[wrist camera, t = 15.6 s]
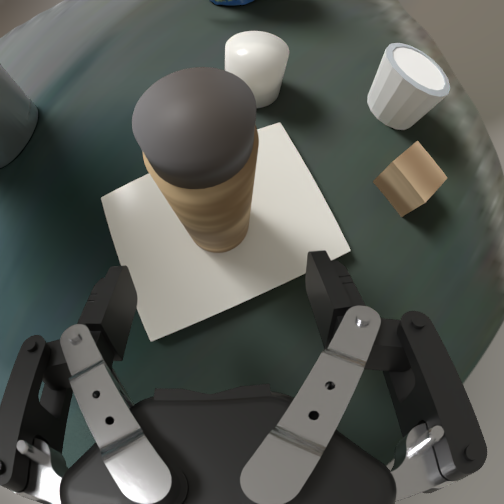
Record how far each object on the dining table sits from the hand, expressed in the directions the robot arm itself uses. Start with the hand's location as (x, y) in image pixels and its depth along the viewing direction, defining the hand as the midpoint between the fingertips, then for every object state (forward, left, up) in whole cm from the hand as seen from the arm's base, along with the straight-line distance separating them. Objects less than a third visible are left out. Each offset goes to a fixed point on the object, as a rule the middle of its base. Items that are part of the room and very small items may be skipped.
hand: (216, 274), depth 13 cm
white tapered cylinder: (+22, +10, -9) cm, 26 cm away
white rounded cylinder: (+9, +16, -9) cm, 21 cm away
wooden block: (+17, +2, -9) cm, 20 cm away
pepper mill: (+1, +4, -8) cm, 9 cm away
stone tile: (+1, +5, -9) cm, 10 cm away
